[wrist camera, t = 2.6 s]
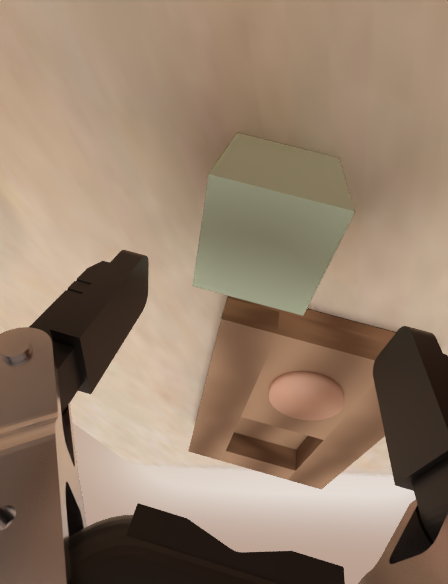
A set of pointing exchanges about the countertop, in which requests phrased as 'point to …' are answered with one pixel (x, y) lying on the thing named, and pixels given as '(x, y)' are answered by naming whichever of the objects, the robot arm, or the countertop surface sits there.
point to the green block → (271, 223)
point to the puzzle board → (249, 401)
